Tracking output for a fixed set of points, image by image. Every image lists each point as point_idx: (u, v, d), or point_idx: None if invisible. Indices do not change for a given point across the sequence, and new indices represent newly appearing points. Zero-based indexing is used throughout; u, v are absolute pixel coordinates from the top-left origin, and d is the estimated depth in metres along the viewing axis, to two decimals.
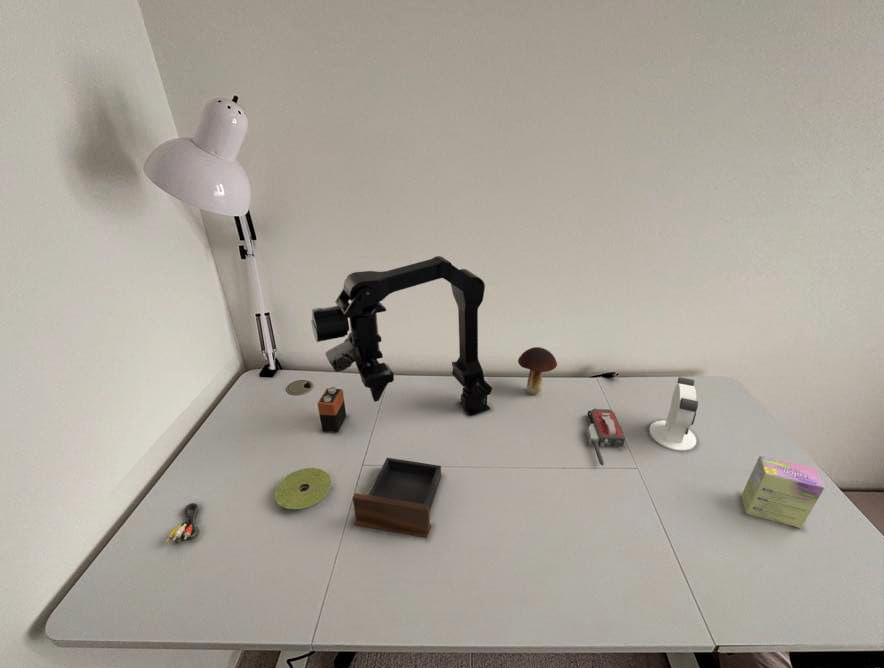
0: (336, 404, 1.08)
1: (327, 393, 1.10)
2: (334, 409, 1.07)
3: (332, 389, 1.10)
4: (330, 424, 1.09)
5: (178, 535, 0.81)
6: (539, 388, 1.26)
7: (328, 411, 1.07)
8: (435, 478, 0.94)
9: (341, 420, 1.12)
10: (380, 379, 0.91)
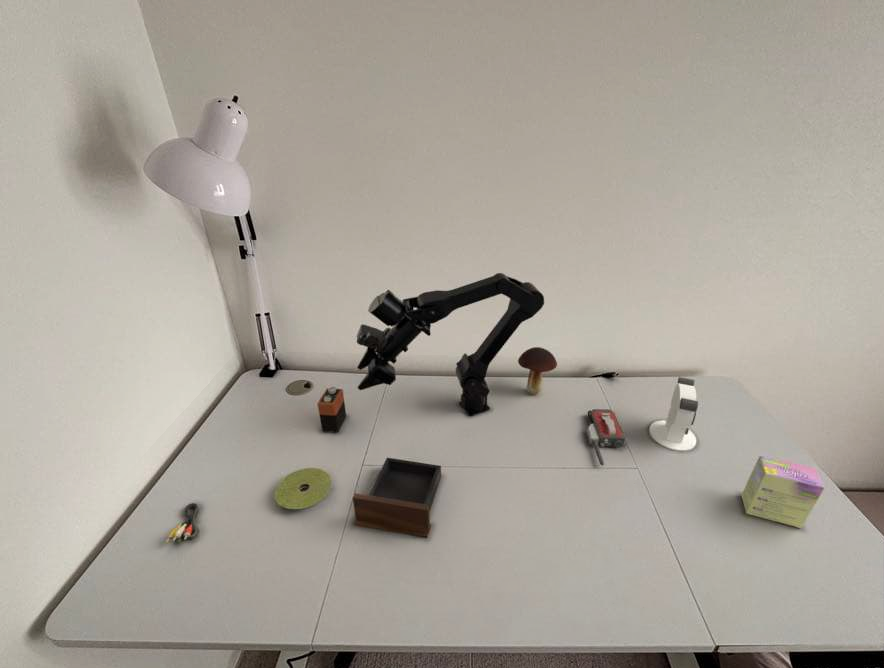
0: (337, 404, 1.08)
1: (327, 393, 1.10)
2: (334, 409, 1.07)
3: (332, 389, 1.10)
4: (330, 424, 1.09)
5: (178, 535, 0.81)
6: (539, 388, 1.26)
7: (328, 411, 1.07)
8: (435, 478, 0.94)
9: (341, 420, 1.12)
10: (384, 375, 0.99)
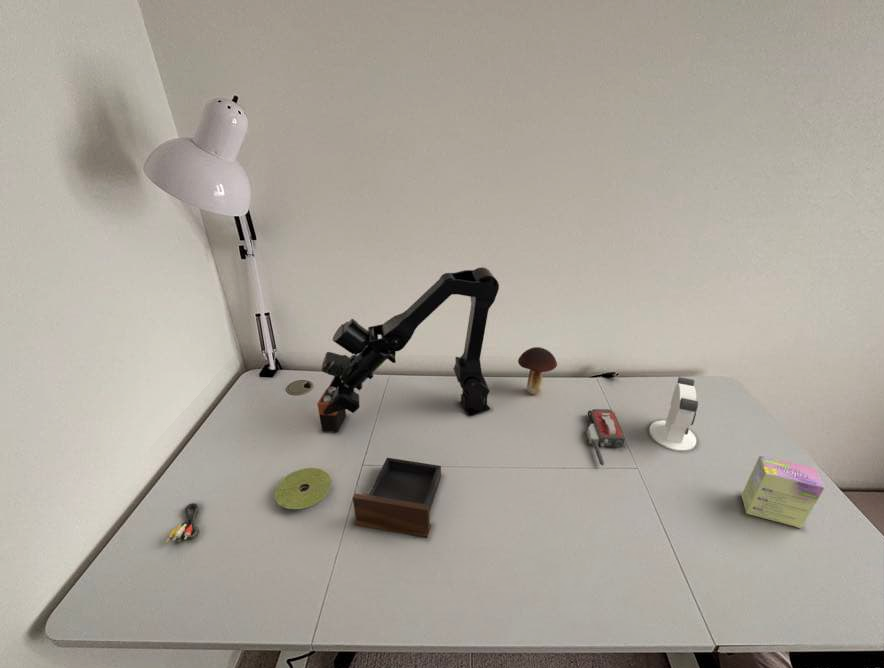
0: None
1: (327, 393, 1.10)
2: None
3: (332, 389, 1.10)
4: (330, 424, 1.09)
5: (178, 535, 0.81)
6: (539, 388, 1.26)
7: None
8: (435, 478, 0.94)
9: (340, 420, 1.12)
10: (347, 403, 1.00)
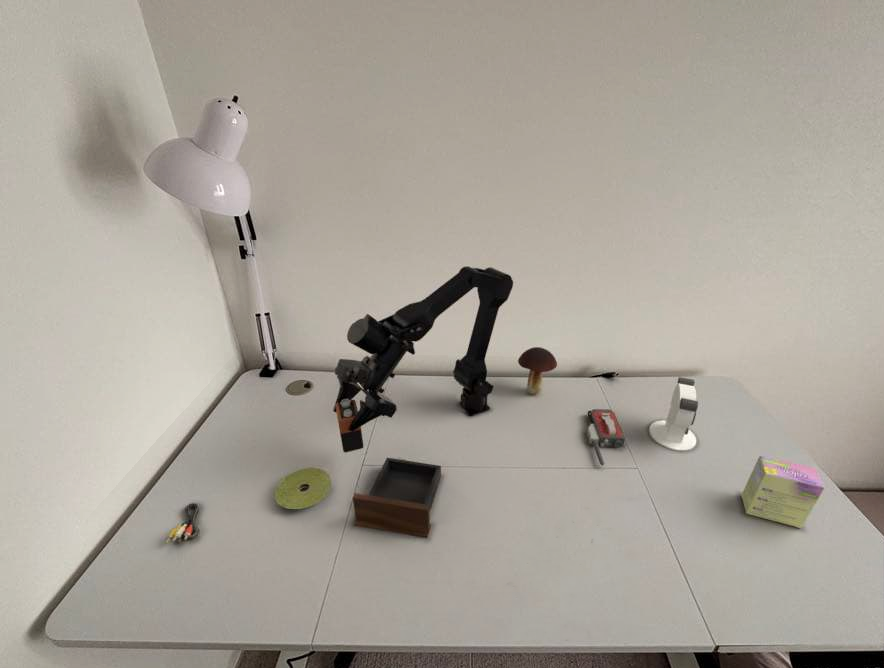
0: None
1: (342, 408, 0.94)
2: None
3: (345, 402, 0.95)
4: (354, 441, 0.94)
5: (178, 535, 0.81)
6: (539, 388, 1.26)
7: None
8: (435, 478, 0.94)
9: None
10: (386, 409, 0.88)
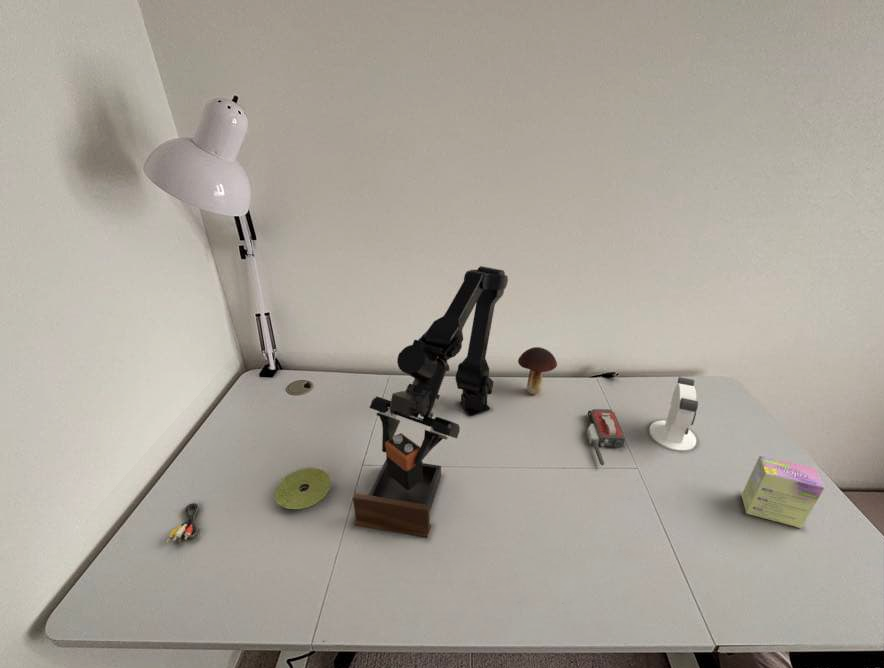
0: None
1: (396, 445, 0.87)
2: None
3: (396, 438, 0.88)
4: (417, 475, 0.89)
5: (178, 535, 0.81)
6: (539, 388, 1.26)
7: None
8: (435, 478, 0.94)
9: None
10: (455, 430, 0.86)
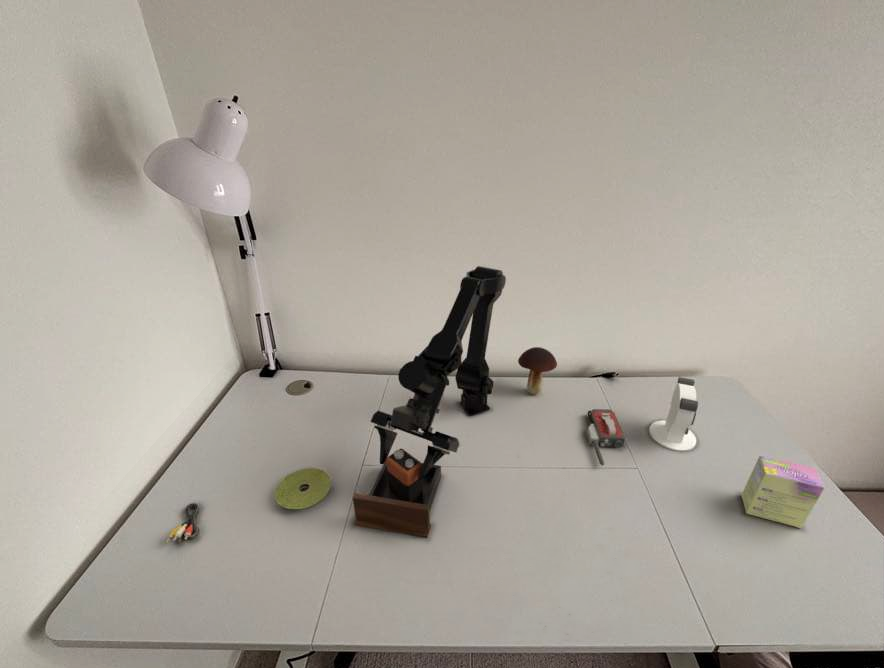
0: None
1: (397, 460, 0.89)
2: None
3: (397, 453, 0.90)
4: (417, 489, 0.91)
5: (179, 535, 0.81)
6: (539, 388, 1.26)
7: (417, 475, 0.89)
8: (435, 478, 0.94)
9: None
10: (454, 445, 0.88)
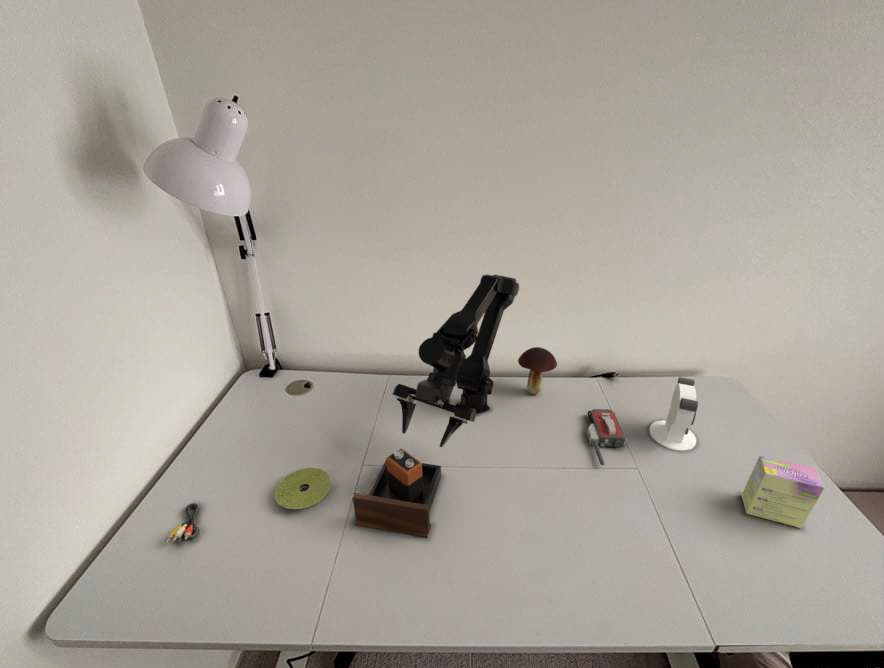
0: None
1: (397, 460, 0.89)
2: (421, 468, 0.90)
3: (397, 453, 0.90)
4: (417, 489, 0.91)
5: (179, 535, 0.81)
6: (539, 388, 1.26)
7: (417, 475, 0.89)
8: (435, 478, 0.94)
9: None
10: (473, 415, 0.95)
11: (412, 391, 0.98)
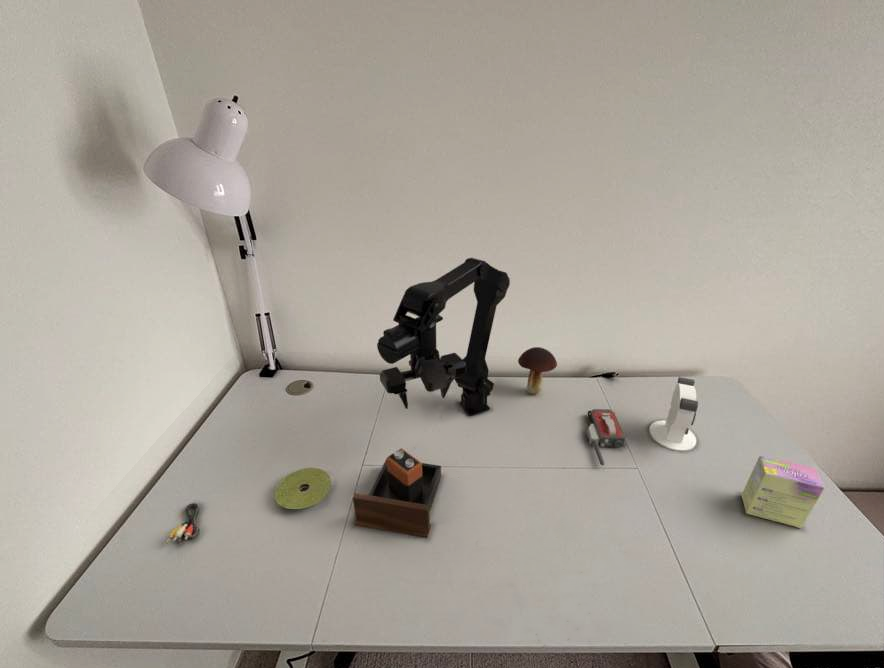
0: None
1: (397, 460, 0.89)
2: (421, 468, 0.90)
3: (397, 453, 0.90)
4: (417, 489, 0.91)
5: (179, 535, 0.81)
6: (539, 388, 1.26)
7: (417, 475, 0.89)
8: (435, 478, 0.94)
9: None
10: None
11: None
